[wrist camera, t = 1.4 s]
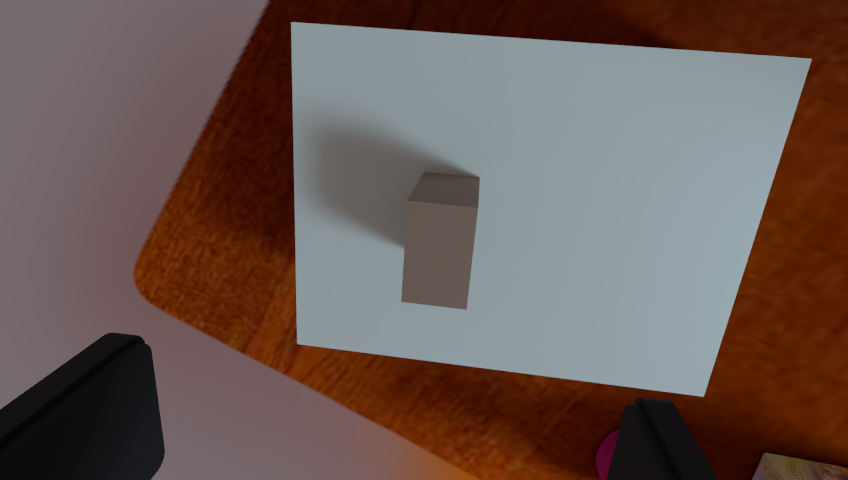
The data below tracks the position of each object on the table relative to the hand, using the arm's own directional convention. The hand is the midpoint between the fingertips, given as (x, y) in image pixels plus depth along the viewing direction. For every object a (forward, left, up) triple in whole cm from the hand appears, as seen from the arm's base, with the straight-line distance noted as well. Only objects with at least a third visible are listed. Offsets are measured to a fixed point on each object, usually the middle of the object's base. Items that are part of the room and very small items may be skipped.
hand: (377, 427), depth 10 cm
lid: (-3, 0, -15) cm, 15 cm away
